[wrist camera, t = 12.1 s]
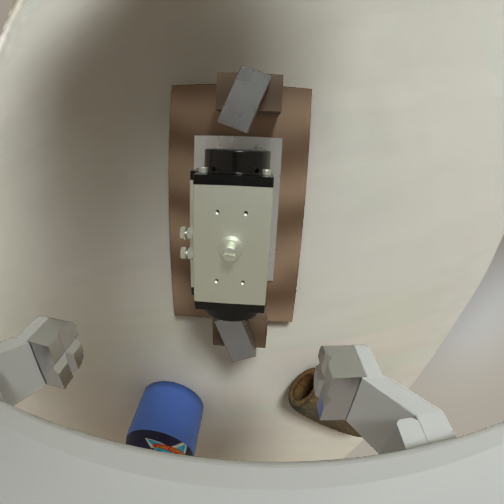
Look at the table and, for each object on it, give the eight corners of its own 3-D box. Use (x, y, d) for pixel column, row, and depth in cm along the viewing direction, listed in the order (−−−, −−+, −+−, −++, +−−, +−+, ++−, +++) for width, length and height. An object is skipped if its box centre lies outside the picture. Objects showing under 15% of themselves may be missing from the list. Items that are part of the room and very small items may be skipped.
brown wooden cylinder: (279, 386, 39) (281, 423, 33) (313, 353, 37) (321, 390, 31) (352, 419, 42) (361, 452, 35) (385, 393, 40) (398, 425, 33)
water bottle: (161, 370, 39) (102, 536, 15) (216, 403, 40) (193, 566, 17) (133, 400, 41) (79, 538, 18) (183, 429, 43) (153, 566, 19)
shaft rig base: (175, 88, 27) (155, 75, 21) (309, 91, 27) (321, 79, 21) (177, 308, 35) (163, 340, 29) (290, 314, 35) (296, 348, 29)
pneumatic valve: (269, 149, 27) (276, 153, 16) (262, 269, 31) (263, 340, 20) (208, 146, 27) (174, 150, 16) (206, 266, 31) (179, 334, 20)
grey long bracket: (197, 83, 25) (178, 66, 19) (284, 85, 25) (292, 67, 19) (196, 317, 34) (183, 357, 27) (269, 321, 34) (271, 363, 27)
